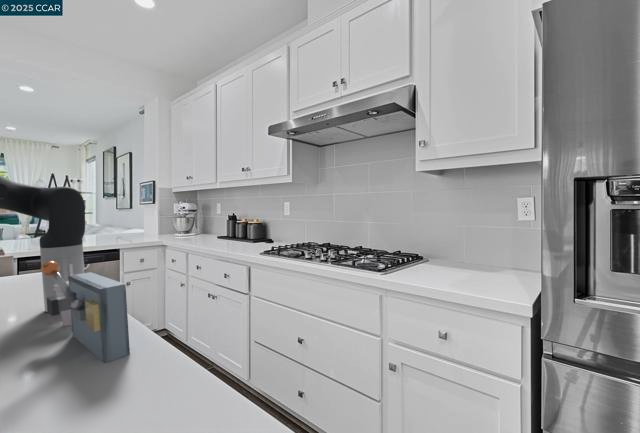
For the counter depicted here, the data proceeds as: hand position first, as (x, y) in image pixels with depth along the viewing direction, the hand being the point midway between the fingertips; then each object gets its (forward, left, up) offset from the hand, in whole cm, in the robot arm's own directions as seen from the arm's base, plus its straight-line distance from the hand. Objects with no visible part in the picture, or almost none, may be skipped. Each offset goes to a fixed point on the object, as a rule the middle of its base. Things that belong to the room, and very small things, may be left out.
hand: (6, 191), depth 51 cm
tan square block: (+1, +11, -24) cm, 27 cm away
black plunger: (-13, +6, -23) cm, 28 cm away
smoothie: (-27, +9, -30) cm, 41 cm away
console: (-7, +11, -30) cm, 33 cm away
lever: (-6, +8, -21) cm, 23 cm away
